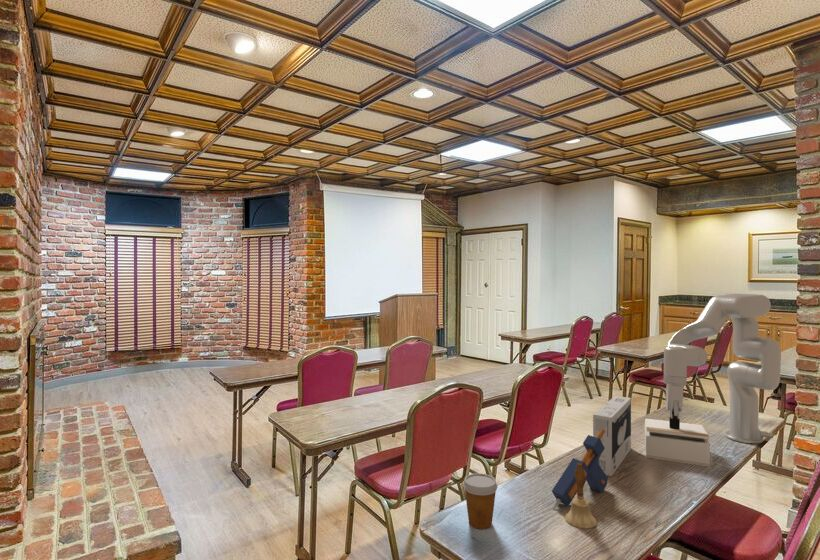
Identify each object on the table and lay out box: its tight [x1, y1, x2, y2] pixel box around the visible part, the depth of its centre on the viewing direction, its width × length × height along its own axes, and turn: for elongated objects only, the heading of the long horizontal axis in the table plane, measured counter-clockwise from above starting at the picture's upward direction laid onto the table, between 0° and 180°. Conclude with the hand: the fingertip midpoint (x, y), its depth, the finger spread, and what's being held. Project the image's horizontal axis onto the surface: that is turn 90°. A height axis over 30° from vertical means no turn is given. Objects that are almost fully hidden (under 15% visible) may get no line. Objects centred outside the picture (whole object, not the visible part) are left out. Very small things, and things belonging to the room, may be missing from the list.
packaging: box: [592, 395, 632, 477], centre depth 169 cm, size 30×6×20 cm, turn 143°
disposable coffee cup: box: [462, 472, 499, 530], centre depth 126 cm, size 10×10×12 cm
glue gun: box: [551, 429, 609, 510], centre depth 142 cm, size 6×31×15 cm
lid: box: [644, 418, 710, 440], centre depth 174 cm, size 20×18×1 cm
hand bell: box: [564, 463, 598, 529], centre depth 127 cm, size 8×8×16 cm
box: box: [644, 421, 711, 468], centre depth 174 cm, size 20×18×8 cm
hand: (674, 428), depth 172 cm, fingers closed
